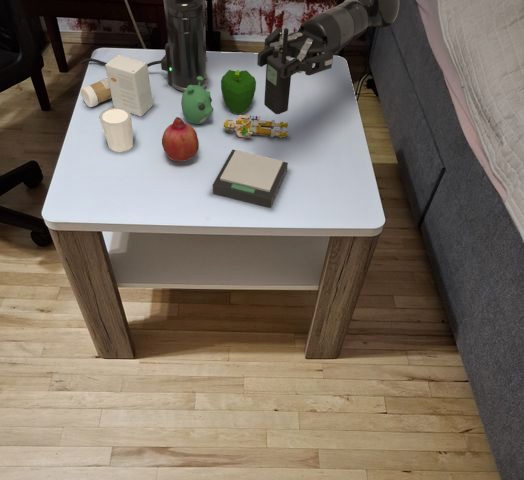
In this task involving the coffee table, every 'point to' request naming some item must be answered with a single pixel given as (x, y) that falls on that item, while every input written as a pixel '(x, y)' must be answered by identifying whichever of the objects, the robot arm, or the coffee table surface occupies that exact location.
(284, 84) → the walkie-talkie
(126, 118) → the white candle
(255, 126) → the toy
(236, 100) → the bell pepper
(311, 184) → the coffee table surface
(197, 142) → the fruit
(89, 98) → the sprinkles bottle
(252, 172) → the scale
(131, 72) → the small box
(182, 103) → the alien toy
